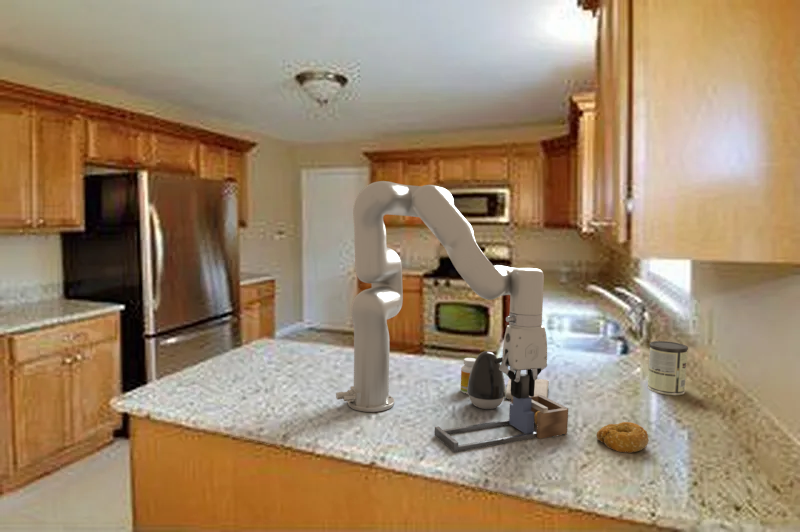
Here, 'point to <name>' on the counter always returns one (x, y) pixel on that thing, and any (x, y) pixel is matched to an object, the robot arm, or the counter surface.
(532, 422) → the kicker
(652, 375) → the coffee can
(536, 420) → the ball
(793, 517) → the counter surface
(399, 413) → the counter surface
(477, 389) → the pump dispenser
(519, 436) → the track
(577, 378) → the counter surface
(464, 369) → the supplement bottle
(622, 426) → the bagel
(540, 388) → the washcloth
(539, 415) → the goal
